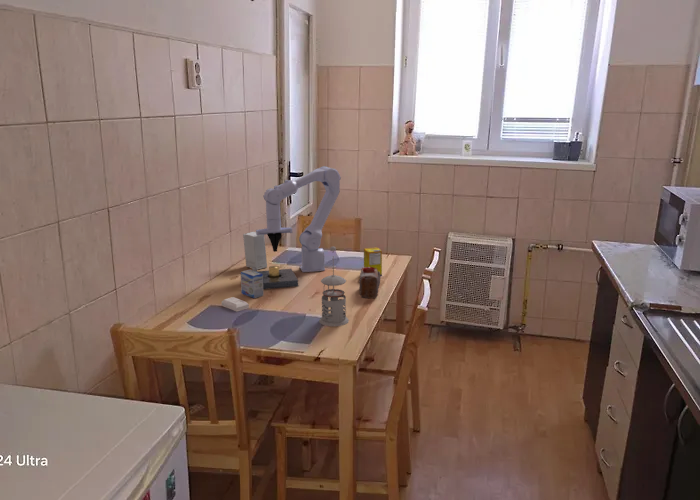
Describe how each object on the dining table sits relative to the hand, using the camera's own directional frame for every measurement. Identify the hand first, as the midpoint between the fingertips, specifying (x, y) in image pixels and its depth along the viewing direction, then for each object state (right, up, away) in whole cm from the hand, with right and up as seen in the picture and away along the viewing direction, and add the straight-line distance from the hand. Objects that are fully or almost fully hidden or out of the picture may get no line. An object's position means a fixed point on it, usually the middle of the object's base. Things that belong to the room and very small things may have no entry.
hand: (275, 251), depth 232 cm
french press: (+25, -23, -46) cm, 57 cm away
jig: (+1, -12, -8) cm, 14 cm away
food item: (+38, -16, -20) cm, 46 cm away
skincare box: (-10, -7, +13) cm, 18 cm away
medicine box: (-5, -16, -22) cm, 28 cm away
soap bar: (-9, -20, -34) cm, 41 cm away
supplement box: (+40, -10, +1) cm, 41 cm away
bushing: (+1, -12, -7) cm, 14 cm away
